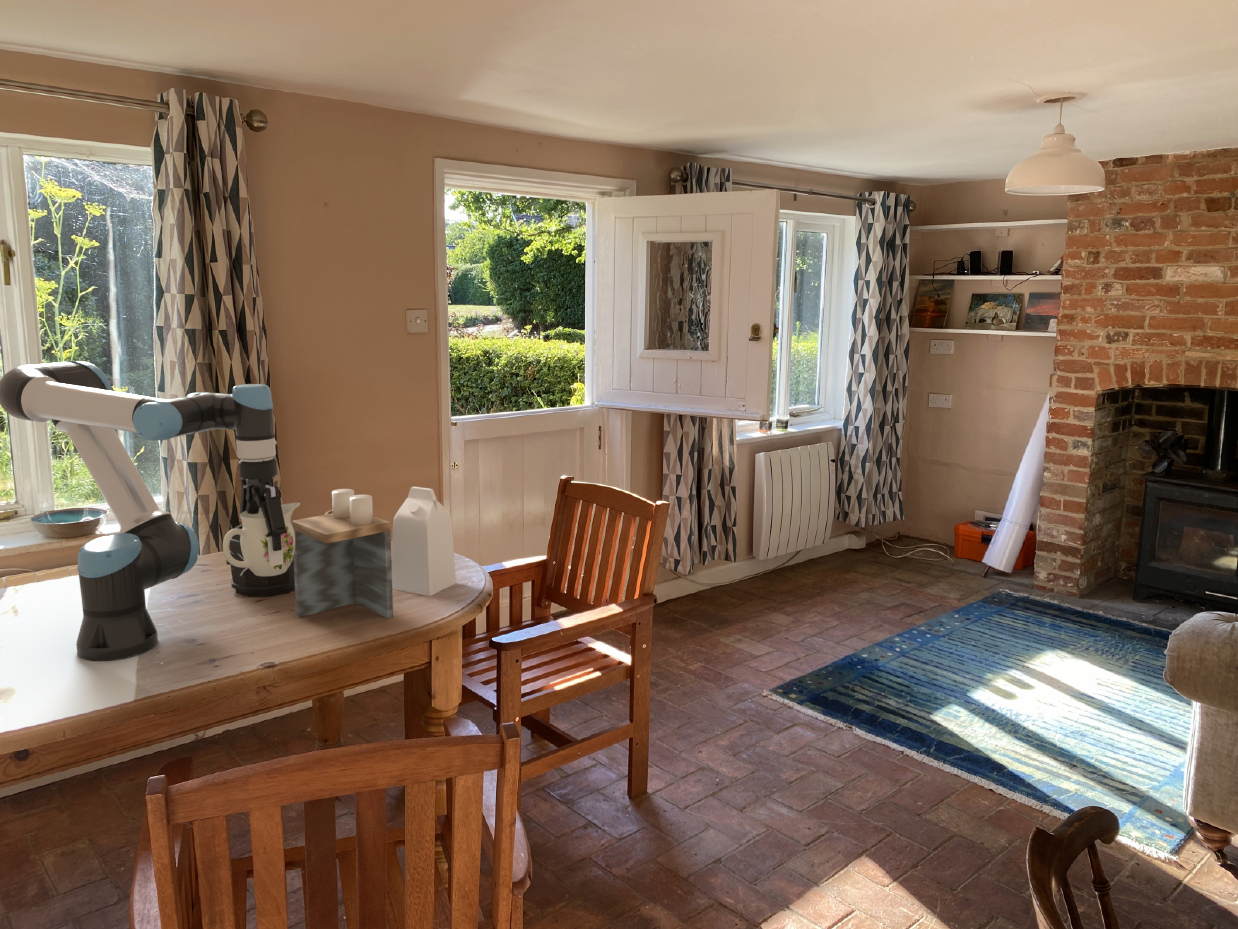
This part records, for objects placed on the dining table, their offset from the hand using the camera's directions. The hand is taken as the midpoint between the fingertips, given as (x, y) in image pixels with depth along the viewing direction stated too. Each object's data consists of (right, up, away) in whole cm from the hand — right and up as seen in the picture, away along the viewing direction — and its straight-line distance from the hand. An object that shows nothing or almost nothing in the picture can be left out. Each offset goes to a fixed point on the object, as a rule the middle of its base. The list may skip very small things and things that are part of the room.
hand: (265, 559), depth 195 cm
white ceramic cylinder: (+11, +8, +19) cm, 24 cm away
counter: (+11, -15, +19) cm, 27 cm away
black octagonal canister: (-14, -11, +38) cm, 42 cm away
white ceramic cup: (+17, +7, +14) cm, 23 cm away
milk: (+25, -11, +41) cm, 50 cm away
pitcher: (0, -3, 0) cm, 3 cm away
